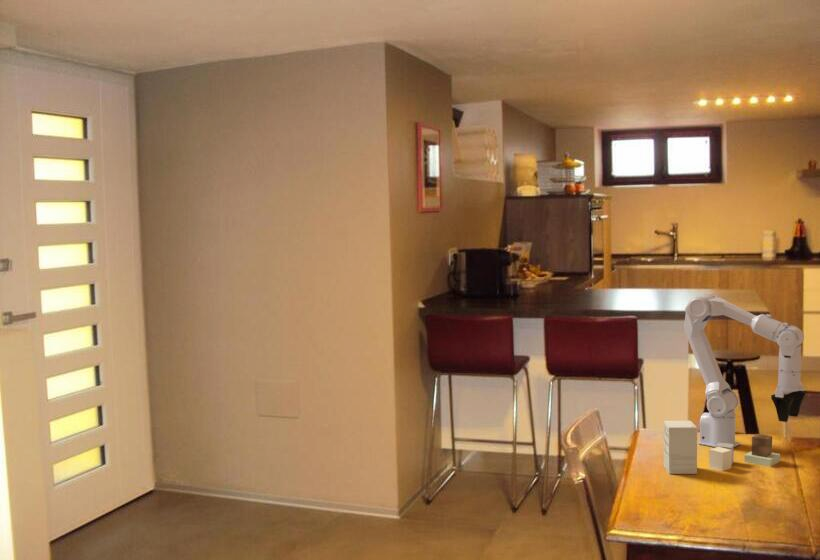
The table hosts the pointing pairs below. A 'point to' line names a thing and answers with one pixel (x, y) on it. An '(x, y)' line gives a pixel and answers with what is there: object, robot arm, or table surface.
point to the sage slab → (762, 459)
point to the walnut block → (761, 445)
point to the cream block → (720, 458)
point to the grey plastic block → (727, 446)
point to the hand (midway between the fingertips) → (788, 418)
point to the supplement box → (680, 447)
